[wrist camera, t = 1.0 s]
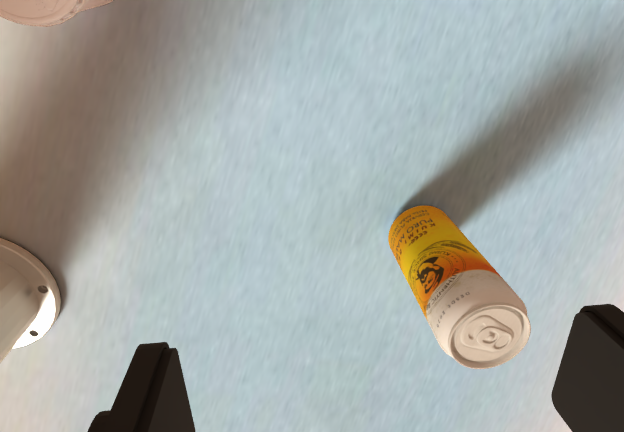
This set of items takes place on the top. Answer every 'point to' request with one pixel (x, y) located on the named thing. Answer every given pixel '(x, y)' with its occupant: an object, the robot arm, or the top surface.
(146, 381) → the robot arm
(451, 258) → the beer can
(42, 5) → the smoothie
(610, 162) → the top surface
